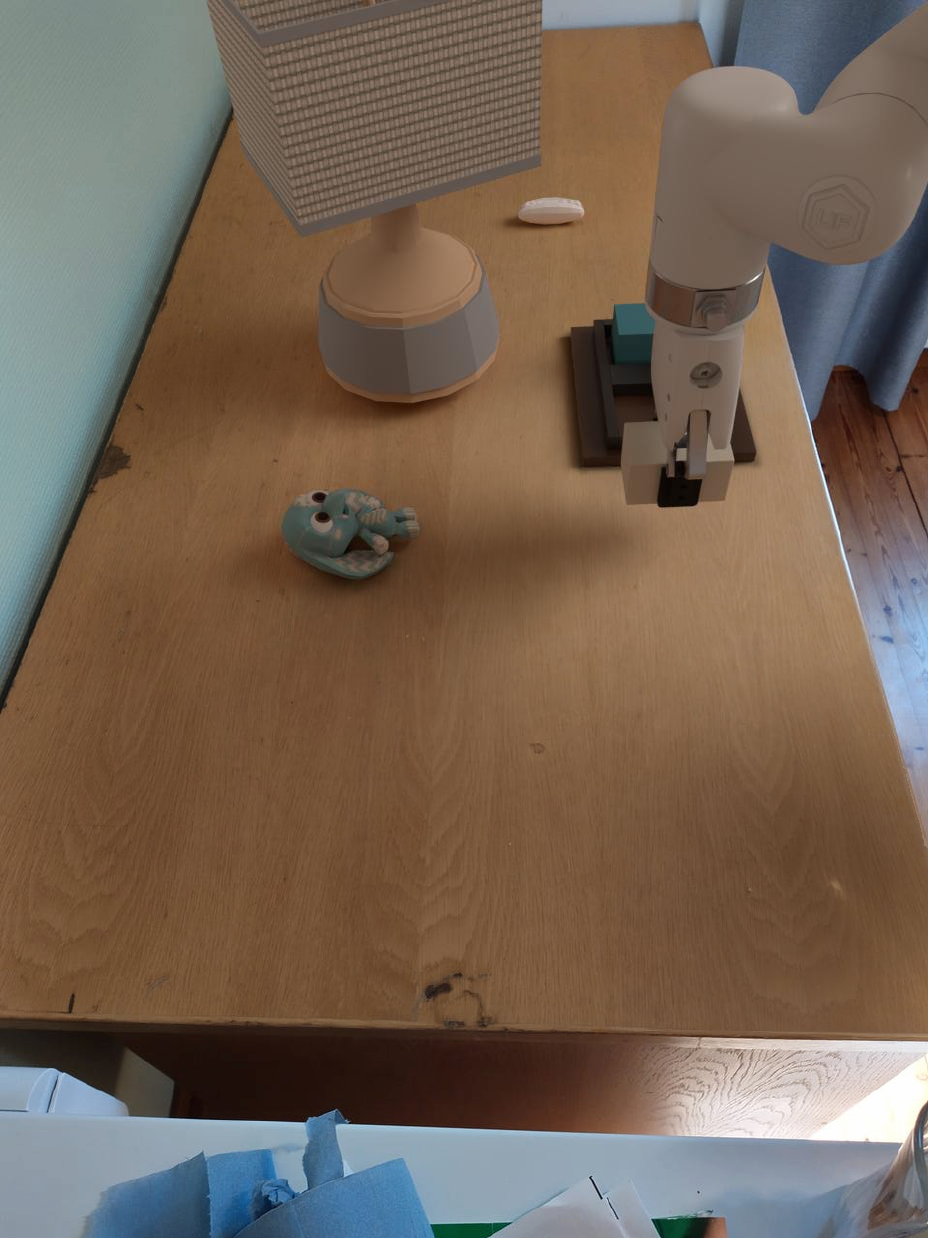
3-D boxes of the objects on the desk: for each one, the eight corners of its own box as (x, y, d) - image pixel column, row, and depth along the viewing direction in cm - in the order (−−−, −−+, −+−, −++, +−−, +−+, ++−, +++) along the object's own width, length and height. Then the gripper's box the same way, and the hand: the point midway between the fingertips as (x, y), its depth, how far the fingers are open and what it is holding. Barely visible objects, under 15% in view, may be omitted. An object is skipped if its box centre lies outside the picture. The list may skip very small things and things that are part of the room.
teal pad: (687, 338, 93) (694, 300, 89) (694, 369, 90) (701, 331, 86) (610, 341, 93) (614, 303, 89) (614, 372, 90) (618, 334, 87)
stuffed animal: (434, 533, 73) (285, 542, 70) (425, 589, 78) (287, 600, 76) (412, 445, 79) (274, 450, 76) (405, 503, 85) (277, 510, 82)
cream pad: (715, 458, 75) (724, 417, 72) (725, 501, 72) (734, 460, 69) (620, 463, 76) (624, 422, 72) (626, 505, 73) (630, 465, 69)
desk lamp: (465, 284, 103) (442, -115, 73) (544, 377, 92) (555, -45, 63) (287, 342, 98) (186, -60, 68) (349, 447, 87) (261, 26, 58)
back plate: (720, 330, 95) (724, 308, 93) (754, 461, 83) (760, 439, 81) (570, 336, 96) (571, 314, 94) (582, 466, 84) (584, 445, 82)
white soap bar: (583, 226, 108) (585, 204, 106) (518, 228, 109) (518, 206, 107) (582, 212, 110) (584, 190, 108) (518, 214, 111) (518, 192, 108)
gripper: (787, 359, 54) (735, 555, 69) (738, 211, 64) (702, 409, 79) (662, 366, 55) (637, 559, 69) (633, 218, 65) (617, 413, 79)
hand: (672, 477), depth 74 cm, fingers closed on cream pad, 5 cm apart
